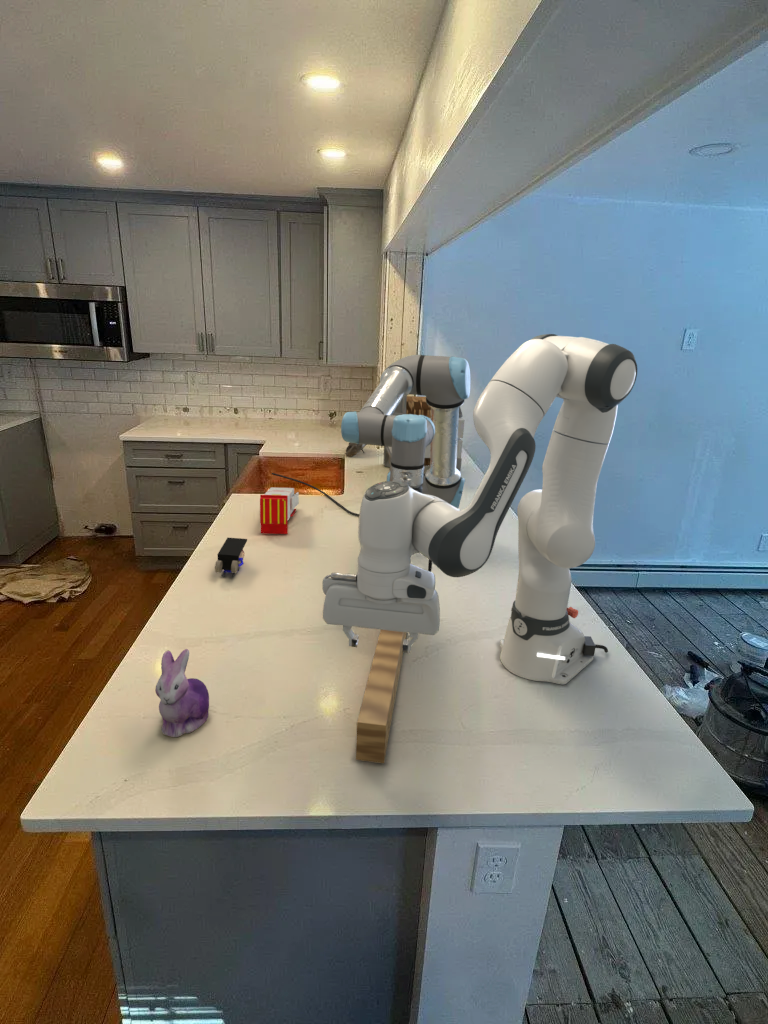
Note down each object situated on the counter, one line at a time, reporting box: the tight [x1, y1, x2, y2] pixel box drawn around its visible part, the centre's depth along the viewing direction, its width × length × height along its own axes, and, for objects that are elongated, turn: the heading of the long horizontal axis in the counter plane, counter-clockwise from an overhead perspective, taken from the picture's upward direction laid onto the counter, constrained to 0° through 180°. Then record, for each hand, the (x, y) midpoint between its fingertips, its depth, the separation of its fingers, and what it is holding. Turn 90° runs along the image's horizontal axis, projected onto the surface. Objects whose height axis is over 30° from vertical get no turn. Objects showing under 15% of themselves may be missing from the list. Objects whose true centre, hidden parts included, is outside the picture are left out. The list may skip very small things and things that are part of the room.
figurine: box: [154, 648, 210, 738], centre depth 104 cm, size 9×10×15 cm
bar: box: [355, 630, 408, 764], centre depth 122 cm, size 53×5×8 cm, turn 173°
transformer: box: [383, 395, 465, 475], centre depth 268 cm, size 34×33×41 cm
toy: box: [259, 487, 300, 535], centre depth 206 cm, size 12×13×30 cm
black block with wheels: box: [214, 537, 248, 578], centre depth 166 cm, size 7×8×15 cm
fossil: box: [345, 442, 368, 458], centre depth 306 cm, size 22×10×15 cm
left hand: (401, 568), depth 136 cm, fingers open, 13 cm apart
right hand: (379, 648), depth 100 cm, fingers open, 8 cm apart
